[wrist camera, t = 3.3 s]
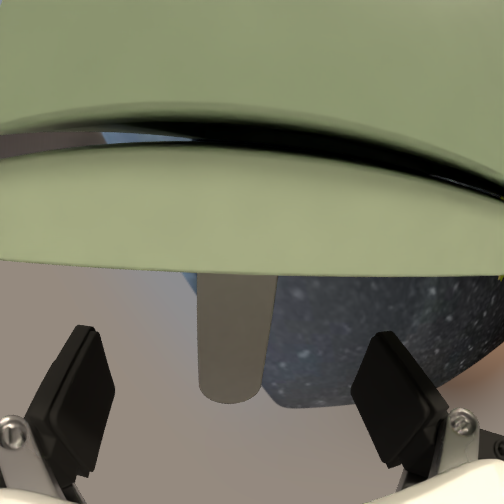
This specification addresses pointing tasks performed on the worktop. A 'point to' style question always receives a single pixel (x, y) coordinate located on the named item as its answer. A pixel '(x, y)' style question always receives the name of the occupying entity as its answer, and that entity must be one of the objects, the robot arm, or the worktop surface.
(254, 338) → the door
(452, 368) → the worktop surface
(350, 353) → the worktop surface
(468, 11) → the cabinet
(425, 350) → the worktop surface
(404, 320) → the worktop surface
